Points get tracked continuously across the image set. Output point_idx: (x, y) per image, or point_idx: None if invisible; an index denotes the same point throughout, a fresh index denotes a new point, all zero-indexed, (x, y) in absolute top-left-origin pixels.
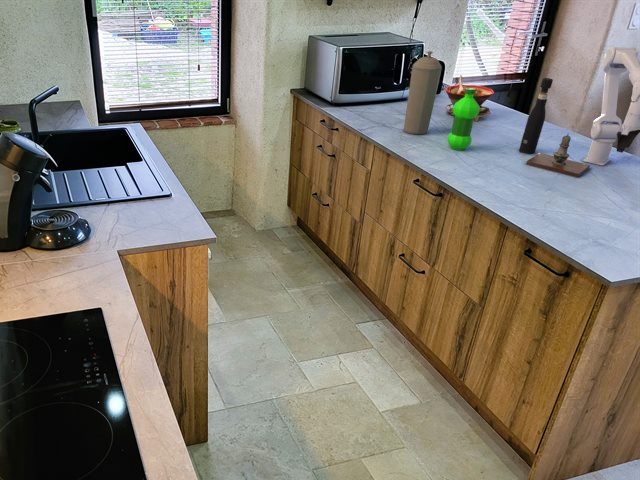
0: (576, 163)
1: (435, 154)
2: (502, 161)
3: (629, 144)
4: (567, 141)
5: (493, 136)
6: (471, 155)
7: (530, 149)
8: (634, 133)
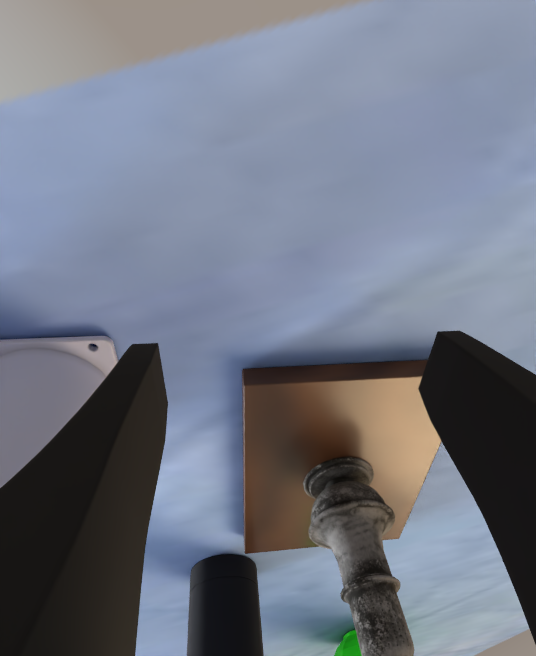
0: (279, 436)
1: (452, 629)
2: (408, 560)
3: (149, 382)
4: (402, 620)
5: (147, 649)
6: (404, 605)
7: (250, 581)
8: (76, 621)
